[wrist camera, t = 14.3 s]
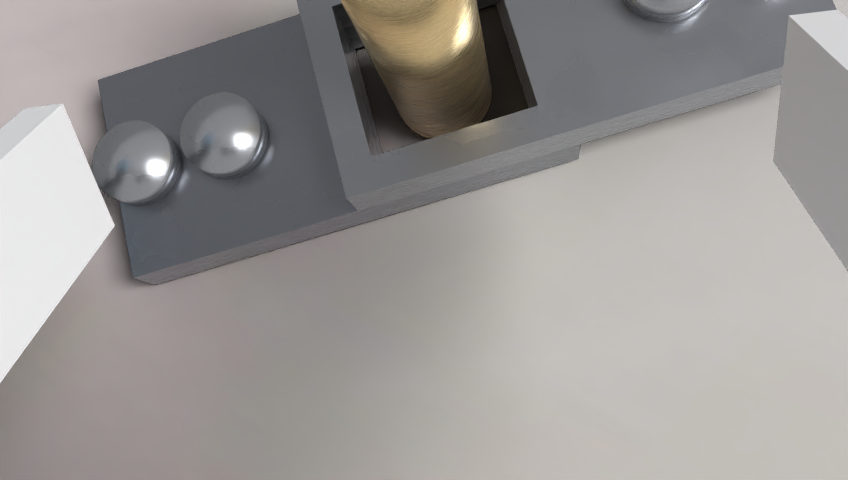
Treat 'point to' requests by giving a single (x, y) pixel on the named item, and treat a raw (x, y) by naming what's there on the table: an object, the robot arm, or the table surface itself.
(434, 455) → the table surface
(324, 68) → the riveted socket plate
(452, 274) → the table surface
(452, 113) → the pin
